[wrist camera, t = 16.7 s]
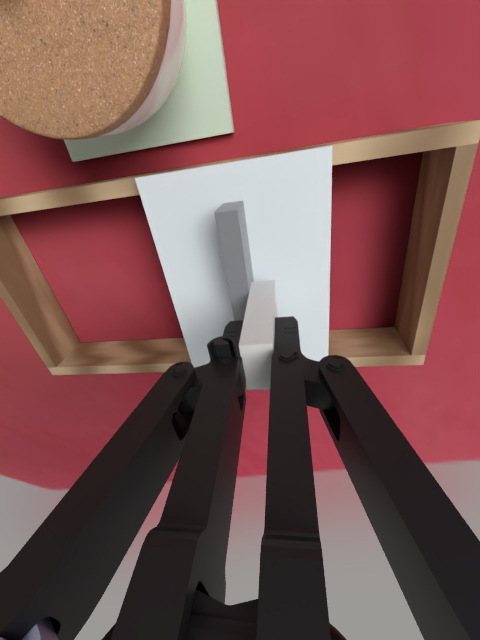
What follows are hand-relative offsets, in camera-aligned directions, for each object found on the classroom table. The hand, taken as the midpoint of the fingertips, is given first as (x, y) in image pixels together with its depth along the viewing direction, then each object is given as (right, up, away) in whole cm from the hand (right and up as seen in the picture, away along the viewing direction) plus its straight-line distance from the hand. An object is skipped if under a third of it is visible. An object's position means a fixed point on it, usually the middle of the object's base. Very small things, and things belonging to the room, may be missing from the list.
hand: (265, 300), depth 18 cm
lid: (-1, +1, +2) cm, 2 cm away
